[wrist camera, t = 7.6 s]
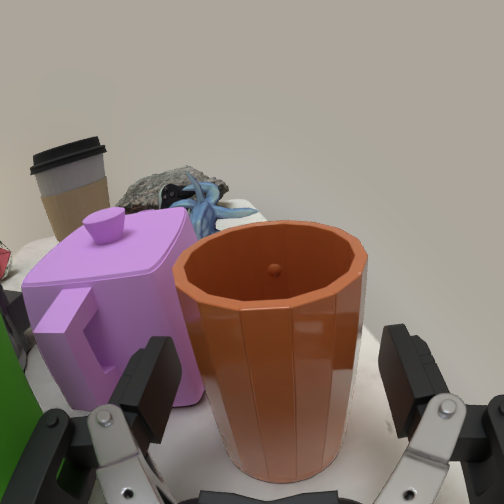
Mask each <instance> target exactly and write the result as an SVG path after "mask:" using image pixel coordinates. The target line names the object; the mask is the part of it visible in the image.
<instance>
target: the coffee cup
mask: <svg viewBox="0 0 504 504" xmlns="http://www.w3.org/2000/svg"><path fill="white" fill-rule="evenodd" d="M105 152H107V151H106V149H105V145H100V142H99V139H98V137H97V136H96V137H91V138H87V139H83V140H79V141H75V142H72V143H68V144H65V145H62V146H59V147H56V148H52V149H49V150H46V151H43V152H41V153H38V154H36V155H34V156H33V162H34V166H32V167H31V168H30V170H31V175H33V174H35V177H36V180H37V183H38V186H39V190H40V192H41V195H42V196H41V199H42V202H43V205H44V207H45V210H46V213H47V216H48V218H49V221H50V223H51V226H52V229H53V231H54V234H55V236H56V238H57V240H58V241H59V243H60V242H61V241H62V240H64V239H65V238H66V237H67V236H69V235H70V234H71V233H73V232H74V231H75V230H77V229H78V228H79V227H81V226H83V225H84V224H83V222H82V221H83V220H84V219H85V218H86V217H87V216H88V215H90V214H92V213H94V212H97V211H100V210H103V209H107V208H110V203H109V195H108V187H107V178H106V176H105V171H104V162H103V153H105Z"/></svg>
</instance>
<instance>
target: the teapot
mask: <svg viewBox="0 0 504 504" xmlns="http://www.w3.org/2000/svg"><path fill="white" fill-rule="evenodd" d="M82 222H83V224H84V225H83V226H81V227H79V228H78V229H77V230H75V231H74V232H73V233H71V234H70V235H69V236H67V237H66V238H65V239H64V240H62V241H61V242H60V243H59V244H58V245H56V246H55V247H54V248H53V249H52V250H51V251H50V252H49V253H48V254H47V255H45V256H44V257H43V258H42V259H41V260H40V261H39V262H38V263H37V264H36V265H35V267H34V268H33V269H32V270H31V271H30V272H29V273H28V274H27V276H26V277H25V278H24V280H23V283H22V285H21V287H22V293H23V298H24V302H25V306H26V310H27V314H28V317H29V321H30V325H31V328H32V331H33V335H34V338H35V340H36V343H37V345H38V348H39V350H40V353H41V355H42V357H43V359H44V361H45V363H46V365H47V367H48V369H49V371H50V373H51V375H52V377H53V378H54V380H55V382H56V383H57V384H58V386H59V387H60V389H61V391H62V393H63V395H64V396H65V398H66V400H67V401H68V403H69V405H70V406H71V408H72V409H76V410H85V411H92V410H93V409H95V408H96V407H98V406H100V405H103V404H107V403H108V401H109V399H110V397H111V395H112V393H113V391H114V389H115V387H116V385H117V383H118V381H119V379H120V377H121V376H122V375H123V374H122V373H123V372H124V370H125V368H126V366H127V364H128V362H129V360H130V358H131V356H132V355H133V354H135V353H136V352H137V351H138V350H139V349H140V348H145V347H146V345H147V343H148V341H149V339H150V338H151V337H152V336H170V337H172V339H173V342H174V345H175V348H176V351H177V354H178V357H179V359H180V362H181V366H182V378H181V381H180V384H179V387H178V391H177V394H176V397H175V400H174V403H173V406H172V407H177V406H188V405H193V404H196V403H197V402H198V401H199V400H200V399H201V397H202V395H203V393H204V390H205V388H204V384H203V381H202V378H201V375H200V372H199V369H198V365H197V362H196V359H195V356H194V352H193V349H192V346H191V342H190V339H189V335H188V332H187V328H186V325H185V321H184V317H183V314H182V310H181V306H180V303H179V299H178V295H177V291H176V287H175V283H174V278H173V274H172V267H173V265H174V264H175V262H176V260H177V259H178V257H179V256H180V254H181V253H182V252H183V251H184V250H185V249H187V248H188V247H190V246H191V245H193V244H194V243H196V242H197V241H198V239H197V236H196V234H195V231H194V228H193V226H192V223H191V220H190V218H189V215H188V213H187V210H186V209H185V208H183V207H175V208H167V209H160V210H154V209H151V210H144V211H140V212H138V213H134V214H129V215H125V209H124V208H121V207H112V208H107V209H103V210H100V211H97V212H94V213H92V214H90V215H88V216H87V217H86V218H85V219H84V220H83V221H82Z"/></svg>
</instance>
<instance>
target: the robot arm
mask: <svg viewBox="0 0 504 504" xmlns="http://www.w3.org/2000/svg"><path fill="white" fill-rule="evenodd" d="M0 312H1V315H2V318H3V321H4V324H5V327H6V330H7V333H8V335H9V338H10V341H11V343H12V346H13V349H14V351H15V354H16V356H17V359H18V361H19V363H20V366H21V368H22V370H23V371H24V368H25V365H26V353H27V352H28V350H29V349H30V348H31V345H30V343H29V341H28V340H27V338H26V336H25V334H24V332H25V331H26V330H27V329H28V328H29V327H30V326H31V325H30V321H29V317H28V314H27V310H26V306H25V302H24V298H23V293H22V292H17V291H9V290H3V287H2V285H1V282H0ZM378 365H379V371H380V375H381V378H382V381H383V385H384V388H385V392H386V395H387V399H388V402H389V406H390V410H391V413H392V417H393V421H394V425H395V429H396V433H397V436H398V439H399V438H404V437H408V441H409V444H408V446H407V448H406V450H405V452H404V453H403V455H402V457H401V459H400V461H399V462H398V464H397V466H396V468H395V469H394V471H393V473H392V474H391V476H390V478H389V479H388V481H387V483H386V484H385V486H384V487H383V489H382V490H381V492H380V494H379V495H378V497H377V498H376V500H375V501H374V503H373V504H433V502H434V500H435V498H436V496H437V494H438V492H439V490H440V488H441V486H442V484H443V482H444V479H445V477H446V475H447V472H448V470H449V466H450V465H449V464H448V462H449V461H460V462H461V466H462V470H463V475H464V479H465V483H466V488H467V493H468V497H469V502H470V504H504V395H498V396H495V397H494V398H493V399H492V400H491V401H490V402H489V404H488V405H467V404H465V403H464V401H463V400H462V399H461V398H459V397H458V396H457V395H454V394H451V393H450V392H449V390H448V388H447V385H446V383H445V381H444V379H443V376H442V374H441V372H440V370H439V368H438V366H437V364H436V363H435V360H434V358H433V356H432V355H431V352H430V349H429V348H428V345H427V343H426V342H424V341H423V340H422V339H421V338H420V337H419V336H417V335H415V336H410V334H409V332H408V330H407V328H406V326H405V325H404V324H396V325H388V326H384V328H383V333H382V339H381V345H380V350H379V356H378ZM122 374H123V375H122V376H121V377H120V379H119V381H118V383H117V385H116V387H115V389H114V391H113V393H112V395H111V397H110V399H109V401H108V403H107V404H103V405H100V406H98V407H96V408H95V409H93V410H92V411H91V413H90V414H89V416H85V417H74V418H70V417H69V416H68V415H67V413H66V412H65V411H64V410H62V409H51V410H48V411H47V412H45V413H44V414H43V415H42V416H41V417H40V419H39V421H38V423H37V425H36V427H35V429H34V430H33V432H32V434H31V436H30V438H29V440H28V442H27V444H26V446H25V449H24V451H23V453H22V455H21V457H20V459H19V461H18V463H17V465H16V468H15V470H14V472H13V474H12V476H11V479H10V481H9V483H8V486H7V488H6V490H5V493H4V495H3V497H2V500H1V502H0V504H88V502H89V498H90V495H91V492H92V489H93V486H94V483H95V480H96V477H97V478H98V481H99V484H100V487H101V490H102V493H103V495H104V498H105V501H106V503H107V504H362V503H360V502H357V501H354V500H350V499H346V498H339V497H338V490H335V491H325V492H312V493H302V494H298V495H294V496H290V497H286V498H282V499H277V500H273V501H262V500H258V499H254V498H250V497H246V496H242V495H238V494H235V493H226V492H213V491H203V490H200V495H199V498H193V499H188V500H185V501H182V502H179V503H178V502H177V501H176V499H175V498H174V496H173V495H172V493H171V492H170V491H169V489H168V487H167V486H166V484H165V482H164V480H163V478H162V476H161V474H160V473H159V471H158V469H157V467H156V465H155V463H154V461H153V459H152V457H151V455H150V453H149V451H148V447H149V444H150V443H156V444H161V441H162V437H163V434H164V431H165V428H166V425H167V422H168V418H169V415H170V412H171V409H172V406H173V403H174V400H175V397H176V394H177V391H178V387H179V384H180V381H181V378H182V366H181V362H180V359H179V357H178V354H177V351H176V348H175V345H174V342H173V339H172V337H170V336H152V337H151V338H150V339H149V341H148V343H147V345H146V347H145V348H140V349H139V350H138V351H137V352H136V353H135V354H133V355H132V356H131V358H130V360H129V362H128V364H127V366H126V368H125V370H124V372H123V373H122ZM63 458H64V459H65V460H64V463H63V465H62V468H61V470H60V473H59V475H58V478H57V480H56V477H57V473H58V470H59V468H60V465H61V463H62V461H63Z"/></svg>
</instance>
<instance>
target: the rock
mask: <svg viewBox="0 0 504 504" xmlns="http://www.w3.org/2000/svg"><path fill="white" fill-rule="evenodd" d="M186 172H189V173H190V174H191V175H192V176H194V177H195V179H196V180H197V181H198V182H210V183H214V184H215V185H217V186H218V189H219V191H220V198H219V200H220V199H221V198H222V197H223V195H224V194H225V193H226V192H228V191H229V189H228V186H227V185H226V184H225V182H223V181H222V180H216V178H215V177H213V178H209V177H207V176H206V175H204V174H203V172H200V171H198V170H196V169H194V168H192V167H191V166H188V165H186V166H183V167H180V168H177V169H174V170H170V171H165V172H164V173H161V174H153V175H151V176H148V177H145V178H143V179H140V180H138V181H137V182H136V183H134V184H133V185H131V186H130V187H129V188H128V190H127V192H126V194H125V195H124V196H123V198H122V199H121V200H120V201H119V202H118V203H117V204H116V205H115V207H121V208H124V209H125V215H129V214H134V213H138V212H140V211H144V210H151V209H154V210H160V209H159V206H158V203H157V199H158V194H159V192H160V190H161V188H163V187H164V186H165V185H167V184H175V185H178V186H180V185H185V186H188V185H190V184H192V183H191V181H190V180H189V178H188V176H187V174H186ZM203 194H204V197H205V198H206V195H207V194H206V193H204V192H203ZM189 199H193V200H195V201H197V196H196V194H195V195H194V196H192V197H190V198H189ZM192 210H193V209H190V212H191V211H192Z"/></svg>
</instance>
